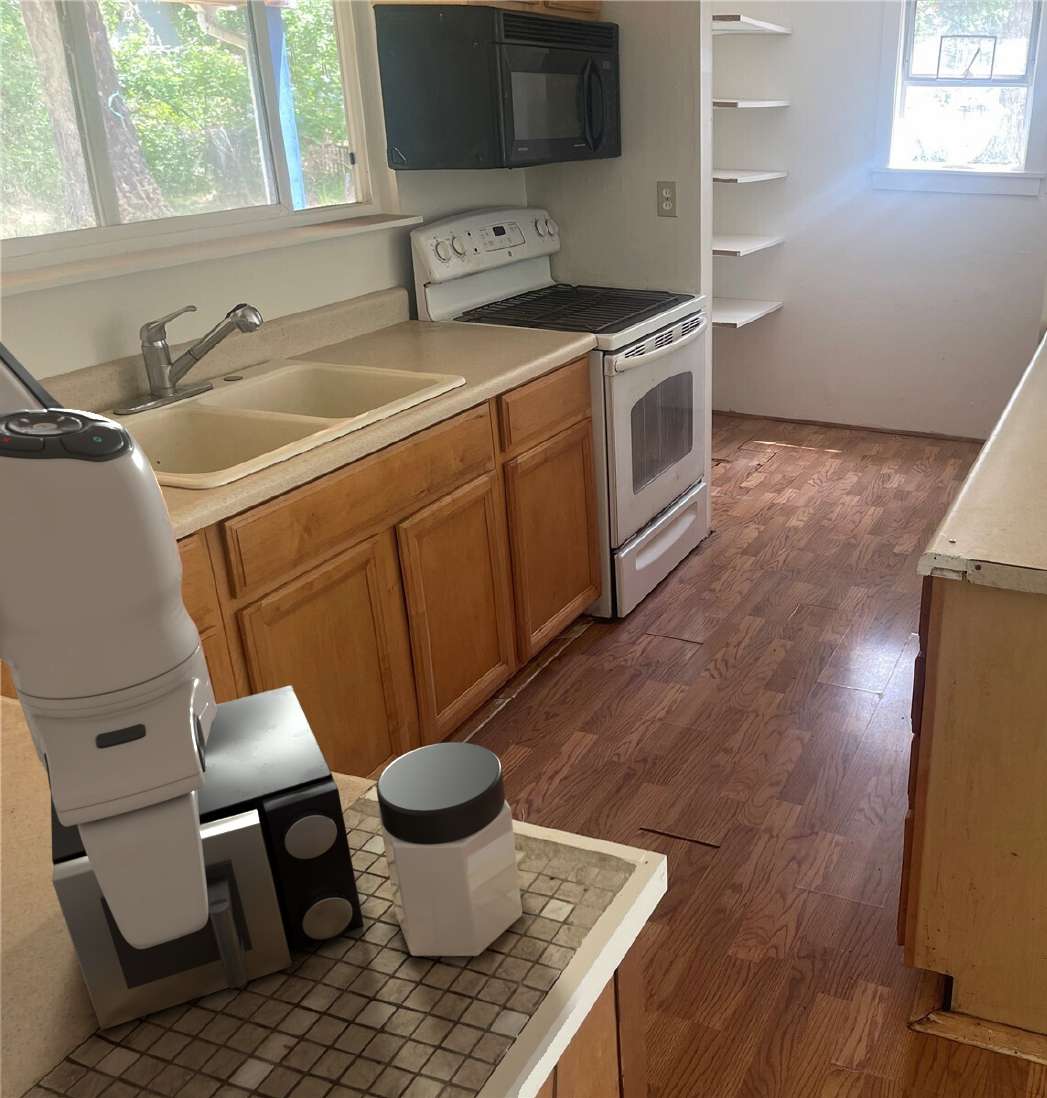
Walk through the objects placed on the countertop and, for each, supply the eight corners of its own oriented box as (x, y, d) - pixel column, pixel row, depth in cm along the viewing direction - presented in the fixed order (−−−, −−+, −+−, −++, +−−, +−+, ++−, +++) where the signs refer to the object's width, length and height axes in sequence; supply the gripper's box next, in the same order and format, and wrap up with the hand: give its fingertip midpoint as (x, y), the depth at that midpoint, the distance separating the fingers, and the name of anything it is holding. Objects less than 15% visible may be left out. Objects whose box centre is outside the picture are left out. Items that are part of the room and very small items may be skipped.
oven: (367, 936, 71) (340, 792, 67) (103, 1038, 63) (52, 883, 59) (316, 812, 84) (291, 684, 79) (92, 884, 76) (49, 748, 72)
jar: (533, 877, 77) (519, 740, 72) (510, 959, 69) (493, 812, 65) (413, 877, 77) (392, 740, 72) (378, 959, 69) (351, 812, 65)
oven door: (298, 1004, 66) (264, 856, 61) (98, 1074, 61) (46, 920, 56) (289, 950, 70) (257, 808, 65) (102, 1012, 65) (53, 864, 61)
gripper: (60, 643, 63) (116, 827, 69) (51, 820, 47) (124, 1043, 52) (174, 619, 66) (219, 797, 72) (202, 777, 50) (258, 993, 55)
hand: (179, 903), depth 62 cm, fingers closed
